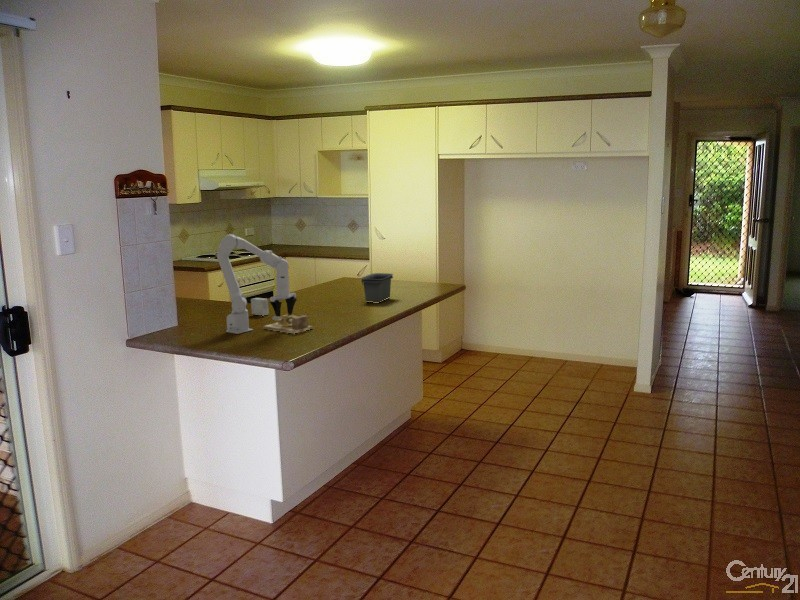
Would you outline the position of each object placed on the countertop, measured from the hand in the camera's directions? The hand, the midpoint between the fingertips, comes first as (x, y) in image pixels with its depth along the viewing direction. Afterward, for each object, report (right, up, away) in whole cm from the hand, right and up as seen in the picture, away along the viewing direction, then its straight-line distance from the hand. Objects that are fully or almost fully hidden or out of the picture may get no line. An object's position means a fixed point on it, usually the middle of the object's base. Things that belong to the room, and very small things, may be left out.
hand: (284, 314), depth 308 cm
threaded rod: (+1, -3, 0) cm, 3 cm away
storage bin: (+40, +6, +70) cm, 81 cm away
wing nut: (+2, -5, 0) cm, 5 cm away
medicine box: (-18, -1, +34) cm, 38 cm away
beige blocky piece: (+2, -7, 0) cm, 7 cm away
